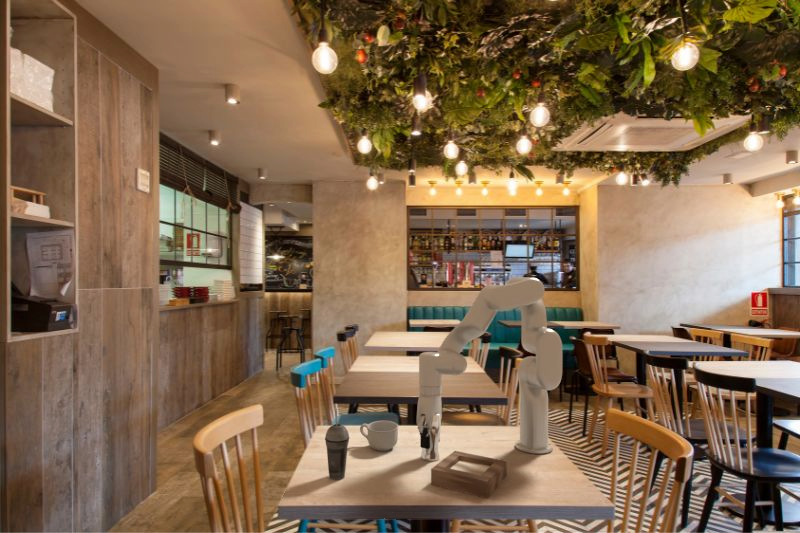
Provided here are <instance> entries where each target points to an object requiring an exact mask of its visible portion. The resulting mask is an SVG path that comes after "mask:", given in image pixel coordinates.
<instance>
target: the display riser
mask: <svg viewBox="0 0 800 533" xmlns="http://www.w3.org/2000/svg"><path fill="white" fill-rule="evenodd" d="M507 477H508V461H507V460H503V459H499V458H495V457H494V458H493V457H489V456H482V455H478V454H472V453H468V452H463V451H457V450H454V451H452V452H451V453H449V455H447V456H446V457H445V458H443V459H442V460H441V461H439V462H438V463H437V464H436V465H434V466H433V467H431V469H430V485H432V486H435V487H439V488H443V489H448V490H452V491H456V492H461V493H464V494H469V495H473V496H477V497H481V498H485V499H488V498H490V496H491V495H492V494H493V492H494V491H495V490H496V489H497V488H498V487H499V486H500V485H501V484H502V483H503V481H504V480H505V479H506V478H507Z"/></svg>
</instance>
